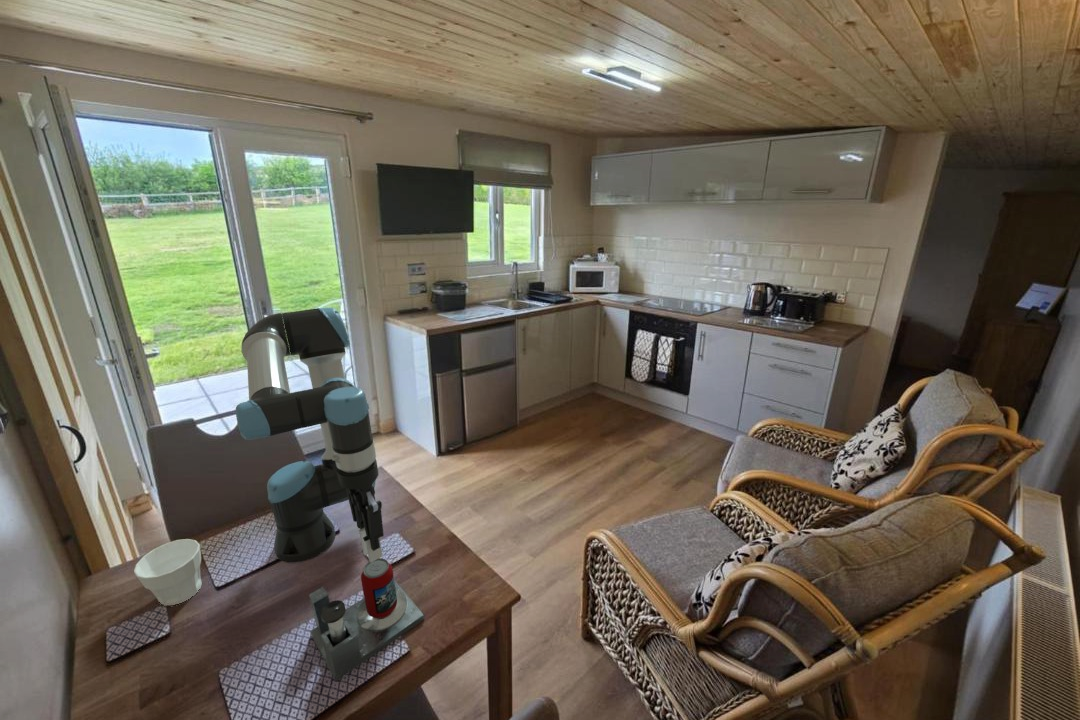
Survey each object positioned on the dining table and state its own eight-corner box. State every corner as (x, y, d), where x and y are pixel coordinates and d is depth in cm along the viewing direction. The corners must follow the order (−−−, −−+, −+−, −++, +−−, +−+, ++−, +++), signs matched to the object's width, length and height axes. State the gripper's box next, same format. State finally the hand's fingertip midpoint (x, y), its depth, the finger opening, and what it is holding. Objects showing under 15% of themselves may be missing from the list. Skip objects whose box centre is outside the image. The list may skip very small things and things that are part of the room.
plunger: (325, 642, 92) (317, 609, 89) (346, 628, 95) (339, 596, 92) (333, 657, 89) (325, 623, 86) (355, 642, 92) (348, 609, 89)
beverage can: (388, 622, 100) (382, 581, 96) (361, 618, 101) (353, 576, 97) (402, 597, 106) (397, 557, 102) (376, 593, 108) (370, 553, 103)
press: (310, 634, 100) (301, 598, 96) (394, 583, 113) (388, 550, 109) (335, 681, 90) (326, 644, 86) (424, 619, 103) (419, 584, 99)
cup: (222, 582, 114) (210, 547, 110) (167, 622, 103) (152, 585, 99) (193, 566, 118) (181, 532, 115) (137, 603, 108) (122, 567, 104)
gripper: (323, 455, 93) (342, 545, 101) (353, 487, 83) (371, 585, 91) (358, 442, 98) (373, 529, 106) (391, 470, 87) (405, 564, 96)
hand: (372, 554), depth 98 cm, fingers open, 2 cm apart
